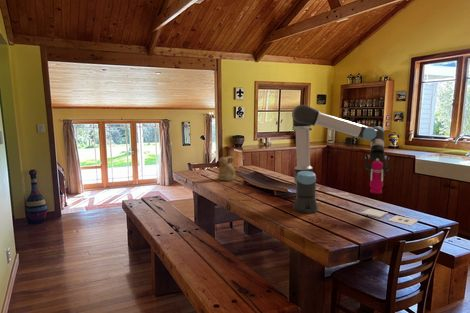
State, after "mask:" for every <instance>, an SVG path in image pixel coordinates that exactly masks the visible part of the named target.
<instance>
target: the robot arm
mask: <svg viewBox="0 0 470 313" xmlns="http://www.w3.org/2000/svg"><path fill="white" fill-rule="evenodd" d="M291 116H292V127H293V128H294V129H295V147H296V148H295V150H296V151H295V152H296V166H295V167H294V176H293V179H294V183H295V185H296V188H295V189H296V192H295V193H296V196H295V199H294V201H293V202H294V203H293V206H292V209H293V210H294V211H295V212H297V213H303V214H312V213H316V212H318V211H319V205H318V203H317V199H316V191H317V190H316V189H317V188H316V186H317V175H316V173H315V172H314V171H313V169H314V167H313V166H311V150H310V146H311V145H310V144H311V143H310V128H311V127H312V126H314V127H315V126H318V127H322V128H326V129H329V130H332V131H337V132H340V133H343V134H347V135H348V136H349V135H350V136H352V137H355V138H358V139H359V138H360V139H362V140H366V141H370V153H369V154H365V155H364V158H365V170H367V171H368V176H370V181H372V177H373V172H372V169H373V168H372V163H373V162H374V161H376V159H377V158H378V159H379V161H380V162H382V164H383V167H382V169H381V170H382V172H381V181H382V182H384V177H385V176H386V172H389V168H390V167H389V166H390V158H391V157H390V155H386V154H385V130H384V127H382V126H379V125H378V126H373V127H372V126H367V125H364V124H360V123H356V122H352V121H350V120H346V119H344V118H339V117H338V116H334V115H330V114H327V113H324V112H323V113H322V112H321V111H320V110H318V109H316V108H313V107H311V106H308V105H307V104H301V105H297V106H296V107H294V108H293V110H292V114H291ZM369 159H371V162H370V164H369ZM384 159H385V164H384Z"/></svg>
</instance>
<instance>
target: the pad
mask: <svg viewBox="0 0 470 313" xmlns="http://www.w3.org/2000/svg"><path fill="white" fill-rule="evenodd" d="M360 214H361V215H364V216H367V215H368V217H371V218H377V219H382V218H383V217H385V216H388V214H389V212H386V211H382V210H378V209H373V208H368V209H366V210H363V211H362V212H361V213H360Z"/></svg>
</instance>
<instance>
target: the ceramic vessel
mask: <svg viewBox="0 0 470 313" xmlns="http://www.w3.org/2000/svg"><path fill="white" fill-rule="evenodd" d="M233 155H234V152H233V151H229V156H226V157H225V156H221V157H219V160H218V161H219V167H218V172H219V173H218V175H217V179H218V180H220V181H226V182H229V181H234V180H235V178H236V177H235V176H236V169H235V167H234V163H235V162H234V161H235V160H234V156H233ZM229 160H230V162H229Z"/></svg>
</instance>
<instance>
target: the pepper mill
mask: <svg viewBox="0 0 470 313" xmlns="http://www.w3.org/2000/svg"><path fill="white" fill-rule="evenodd" d="M382 167H383V164H382V162H380V161H379V159H378V158H377V159H376V161H374V162H373V163H372V181H371V180H370V181H369V187H370V190H369V192H370V193H372V194H382V193H383V189H382V188H383V187H384V181H381V172H382Z"/></svg>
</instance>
